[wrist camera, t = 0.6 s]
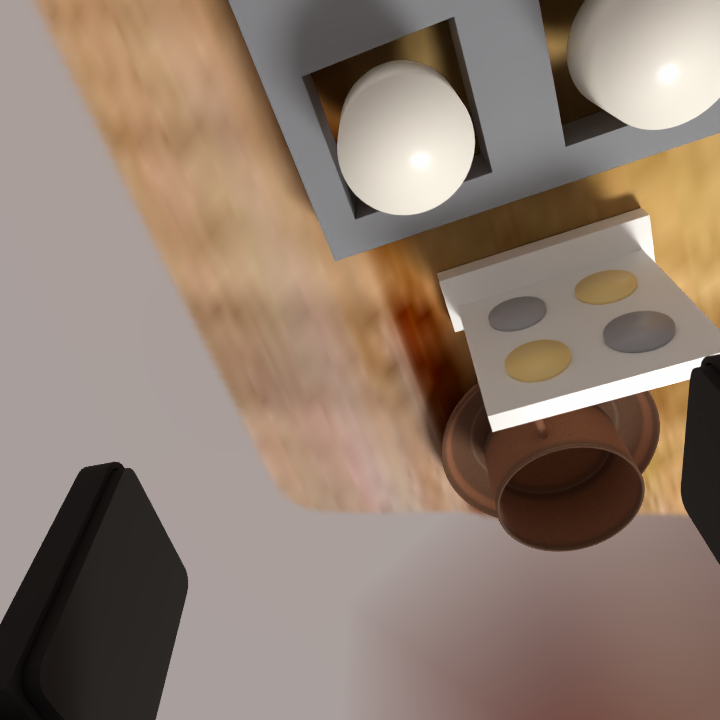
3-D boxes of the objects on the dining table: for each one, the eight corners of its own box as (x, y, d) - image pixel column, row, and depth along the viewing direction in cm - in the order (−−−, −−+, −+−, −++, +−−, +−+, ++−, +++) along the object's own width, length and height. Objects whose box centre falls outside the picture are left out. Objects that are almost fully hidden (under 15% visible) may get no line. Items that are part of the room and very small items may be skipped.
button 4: (442, 40, 24) (454, 51, 21) (474, 163, 26) (489, 189, 23) (321, 86, 24) (316, 104, 22) (363, 202, 27) (363, 232, 24)
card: (641, 207, 30) (750, 305, 22) (648, 263, 32) (753, 375, 23) (437, 273, 32) (464, 387, 23) (452, 322, 33) (483, 446, 25)
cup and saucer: (395, 424, 37) (401, 500, 32) (567, 295, 33) (606, 359, 28) (520, 528, 42) (542, 609, 37) (686, 427, 37) (738, 503, 32)
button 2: (694, -59, 22) (746, -61, 19) (704, 83, 24) (751, 100, 21) (555, -4, 23) (584, 1, 20) (578, 127, 25) (606, 149, 22)
